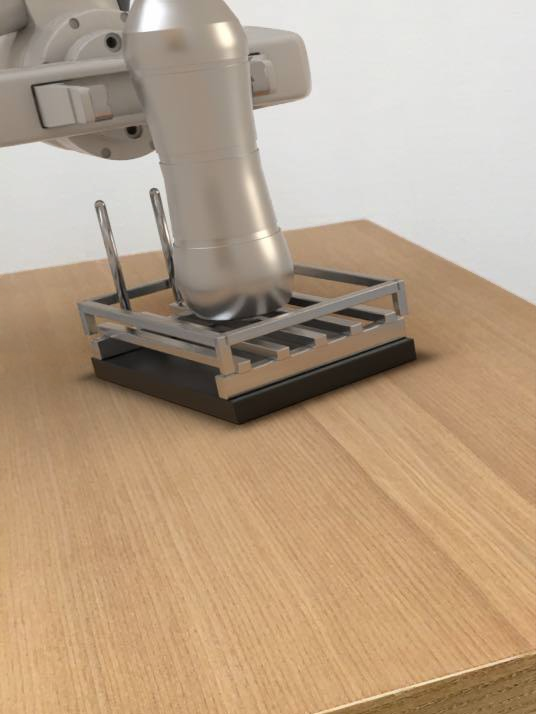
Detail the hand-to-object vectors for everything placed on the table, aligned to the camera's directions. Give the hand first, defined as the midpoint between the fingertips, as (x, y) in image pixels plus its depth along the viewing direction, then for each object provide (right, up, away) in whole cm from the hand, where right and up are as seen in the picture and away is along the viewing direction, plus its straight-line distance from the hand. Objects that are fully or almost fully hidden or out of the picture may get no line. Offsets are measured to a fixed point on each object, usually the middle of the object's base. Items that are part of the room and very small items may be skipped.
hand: (183, 91), depth 66 cm
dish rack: (+2, -14, +6) cm, 15 cm away
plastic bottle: (+2, -12, +5) cm, 13 cm away
